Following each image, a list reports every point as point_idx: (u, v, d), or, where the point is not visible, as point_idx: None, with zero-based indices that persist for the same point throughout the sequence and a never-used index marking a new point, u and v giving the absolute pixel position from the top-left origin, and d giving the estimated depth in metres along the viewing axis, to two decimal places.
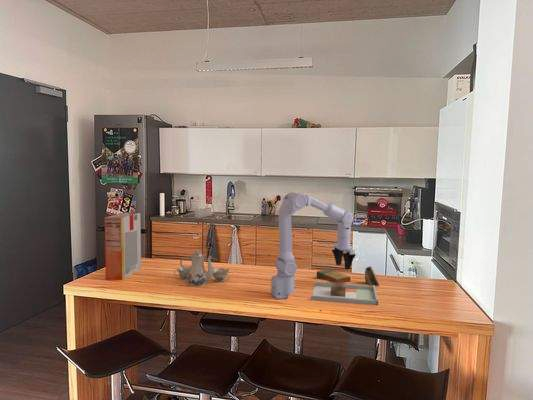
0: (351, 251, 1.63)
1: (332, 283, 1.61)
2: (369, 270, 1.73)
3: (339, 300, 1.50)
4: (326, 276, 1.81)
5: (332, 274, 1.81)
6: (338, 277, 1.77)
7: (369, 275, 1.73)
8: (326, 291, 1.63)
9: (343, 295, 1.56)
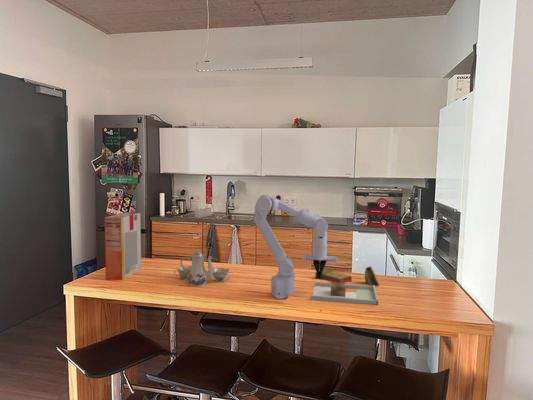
0: None
1: (332, 283, 1.61)
2: (369, 270, 1.73)
3: (339, 300, 1.50)
4: (328, 277, 1.80)
5: (333, 274, 1.81)
6: (340, 277, 1.77)
7: (369, 275, 1.73)
8: (326, 291, 1.63)
9: (343, 295, 1.56)
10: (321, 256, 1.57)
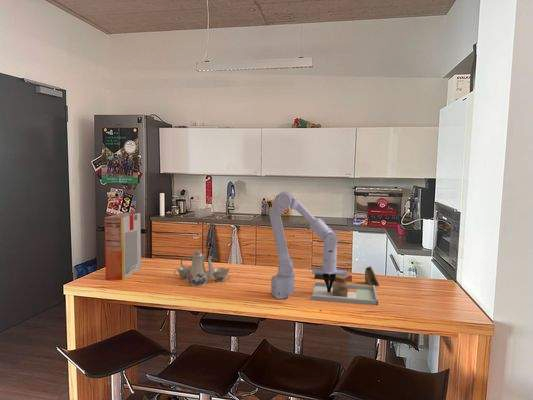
0: (312, 270, 1.62)
1: (334, 283, 1.61)
2: (369, 270, 1.73)
3: (339, 300, 1.50)
4: (329, 277, 1.80)
5: None
6: (343, 276, 1.77)
7: (369, 275, 1.73)
8: (326, 291, 1.63)
9: (345, 295, 1.56)
10: (331, 270, 1.57)
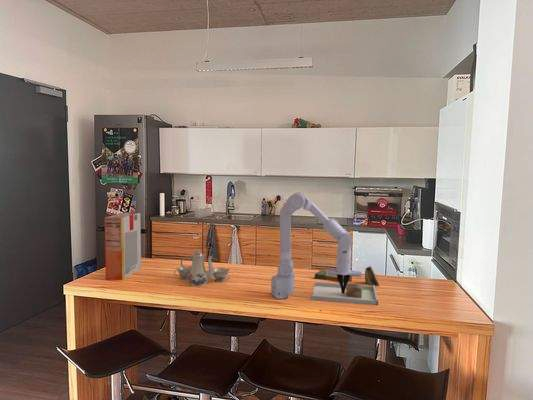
0: (326, 271, 1.61)
1: (348, 284, 1.60)
2: (369, 270, 1.73)
3: (339, 300, 1.50)
4: (330, 277, 1.80)
5: None
6: None
7: (369, 275, 1.73)
8: (326, 291, 1.63)
9: (359, 296, 1.55)
10: (345, 271, 1.56)
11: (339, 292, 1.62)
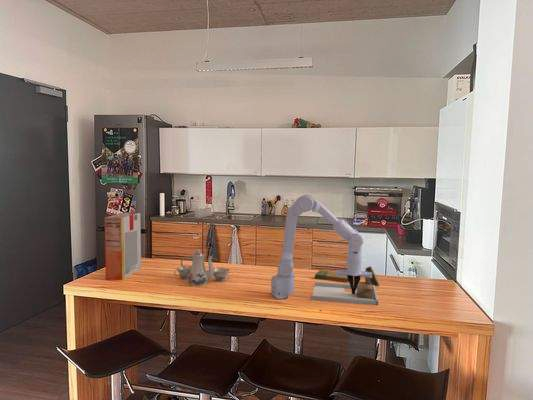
0: (336, 271, 1.60)
1: (358, 285, 1.59)
2: (369, 270, 1.73)
3: (339, 300, 1.50)
4: (331, 277, 1.79)
5: (334, 274, 1.81)
6: (345, 276, 1.79)
7: None
8: (326, 291, 1.63)
9: (370, 297, 1.54)
10: (356, 272, 1.55)
11: (339, 292, 1.62)
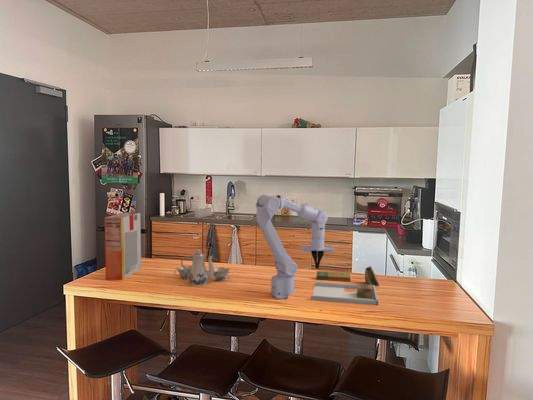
0: (301, 247, 1.68)
1: (358, 285, 1.59)
2: (369, 270, 1.73)
3: (339, 300, 1.50)
4: (334, 277, 1.79)
5: (335, 274, 1.82)
6: (347, 275, 1.80)
7: (369, 275, 1.73)
8: (326, 291, 1.63)
9: (370, 297, 1.54)
10: (319, 247, 1.64)
11: (339, 292, 1.62)
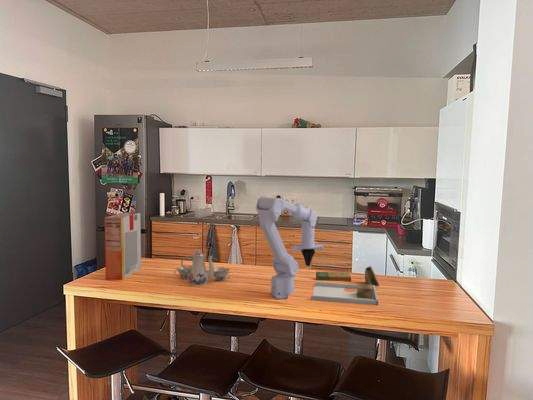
0: (292, 247, 1.69)
1: (358, 285, 1.59)
2: (369, 270, 1.73)
3: (339, 300, 1.50)
4: (334, 277, 1.79)
5: (336, 274, 1.82)
6: (347, 275, 1.81)
7: (369, 275, 1.73)
8: (326, 291, 1.63)
9: (370, 297, 1.54)
10: (311, 245, 1.68)
11: (339, 292, 1.62)
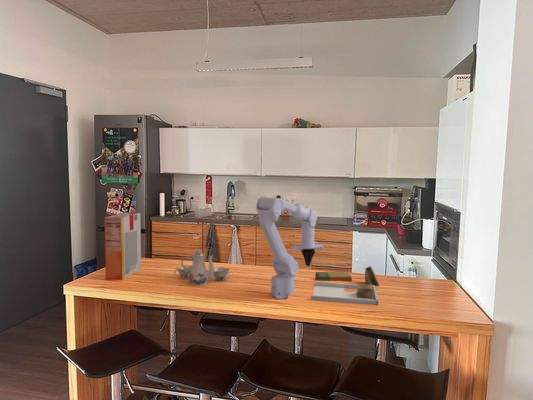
0: (292, 247, 1.69)
1: (358, 285, 1.59)
2: (369, 270, 1.73)
3: (339, 300, 1.50)
4: (335, 277, 1.79)
5: (336, 274, 1.82)
6: (347, 274, 1.81)
7: (369, 275, 1.73)
8: (326, 291, 1.63)
9: (370, 297, 1.54)
10: (311, 245, 1.68)
11: (339, 292, 1.62)
